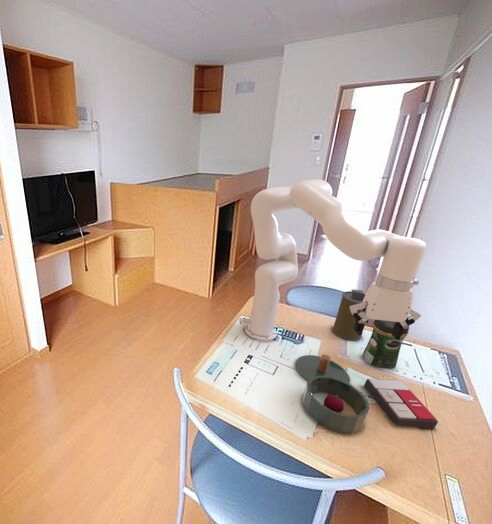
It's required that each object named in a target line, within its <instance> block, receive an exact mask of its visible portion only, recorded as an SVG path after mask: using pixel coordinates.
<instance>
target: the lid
mask: <svg viewBox="0 0 492 524" xmlns="http://www.w3.org/2000/svg"><path fill="white" fill-rule="evenodd" d="M331 359H332V358H331V357H330V355H327V354H321V355H320V356H319V355H312V354H308V355H307V354H306V355H305V354H304V355H302V356H299V357H298V358H296V360H295V365H294V366H295V370H296V371H297V373H298V374H299V375H300V376H301V377H302V378H303V379H304V380H305V381H307V382H308V381H309V380H310V379H311V378H313V377H316V376H329V377H333V378H336V379H340V380H342V381H344V382H346V383H348V384H351V378H350V375H349V373H348V372H347V371H346V370H345V369H344V368H343V367H342V366H341V365H340V364H338V363H337V362H335V361H333V360H331Z"/></svg>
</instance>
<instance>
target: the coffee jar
mask: <svg viewBox="0 0 492 524" xmlns="http://www.w3.org/2000/svg"><path fill="white" fill-rule="evenodd" d="M395 323H398V322H393V321H384V320H375V319H374V321H373V323H372V333H371V335H370V338H369V340H368V341H367V344H366V345H365V347H364V350H363V352H362V359H363V360H364V361H365V362H366V364H368V365H370V366H372V367H374V368H381V369H394V368H396V366H397V363H398V360H399V355H400V351H401V348H402V344H403V341H404V340H405V338H407V336H408V334H409V330H410V325H409V326H408V328H406V329H404V332H403V334H402V336H401V337H400V340H396V339H395V338H394V337H393V335H392V334H391V332H392V330H393V327H394V324H395Z"/></svg>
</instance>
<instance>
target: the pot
mask: <svg viewBox="0 0 492 524" xmlns="http://www.w3.org/2000/svg"><path fill="white" fill-rule="evenodd" d="M314 393H326V394H329V395H337V396H338V397H339V398H340V399H341V400H342V401H343V402H346V403H347V404H348V405H349V406H351V408H353V410H354V411H355V413H356V415H351V414H343V413H341V412H340V413H337V412H334V411H332V410H330V409H329V408H327V407H325V405H323V404H322V403H321V402H320V401H319V400H317V398H316V397H315V396H314V395H313V394H314ZM302 405H303V407H304V410H305V412H306V413H307V415H309V416H310V417H311V418H312V419H313V420H314V421H315V422H316V423H317V424H319V425H321V426H322V427H324V428H326V429H328V430H330V431H333V432H336V433H339V434H347V435H349V434H350V435H352V434H355V433H358V432H360V431H362V428H363V427H364V425H365V423H366V419H367V417H368V414H369V412H370V404H369V401H368V399H367V398H366V397H365V395H364V394H363V393H362V392H361V391H359V389H357V388H356V387H354V385H352V384H351V383H349V384H348V383H346V382H344V381H342V380H340V379H336V378H333V377H329V376H316V377H313V378H311V379H310V380H309V381H307V382H306V385H305V387H304V392H303V396H302Z"/></svg>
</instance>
